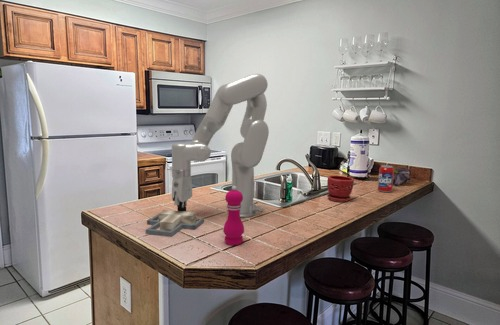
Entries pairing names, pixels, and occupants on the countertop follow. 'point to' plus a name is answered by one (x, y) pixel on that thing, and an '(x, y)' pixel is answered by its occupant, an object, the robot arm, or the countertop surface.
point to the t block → (175, 219)
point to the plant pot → (339, 188)
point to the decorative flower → (401, 176)
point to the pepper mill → (233, 218)
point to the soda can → (385, 178)
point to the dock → (156, 225)
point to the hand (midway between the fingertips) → (181, 215)
